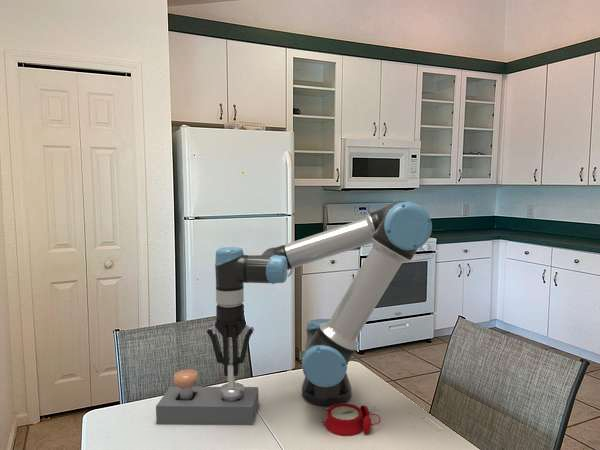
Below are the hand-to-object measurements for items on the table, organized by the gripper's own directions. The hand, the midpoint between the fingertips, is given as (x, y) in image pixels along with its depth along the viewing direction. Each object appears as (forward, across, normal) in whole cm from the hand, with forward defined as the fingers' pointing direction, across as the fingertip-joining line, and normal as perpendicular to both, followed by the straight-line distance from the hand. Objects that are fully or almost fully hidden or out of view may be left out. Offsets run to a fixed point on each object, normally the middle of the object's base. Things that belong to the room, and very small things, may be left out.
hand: (231, 386), depth 125 cm
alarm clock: (+8, -33, +6) cm, 34 cm away
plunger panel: (+8, +6, 0) cm, 10 cm away
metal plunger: (+8, 0, 0) cm, 8 cm away
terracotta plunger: (+4, +13, 0) cm, 13 cm away
